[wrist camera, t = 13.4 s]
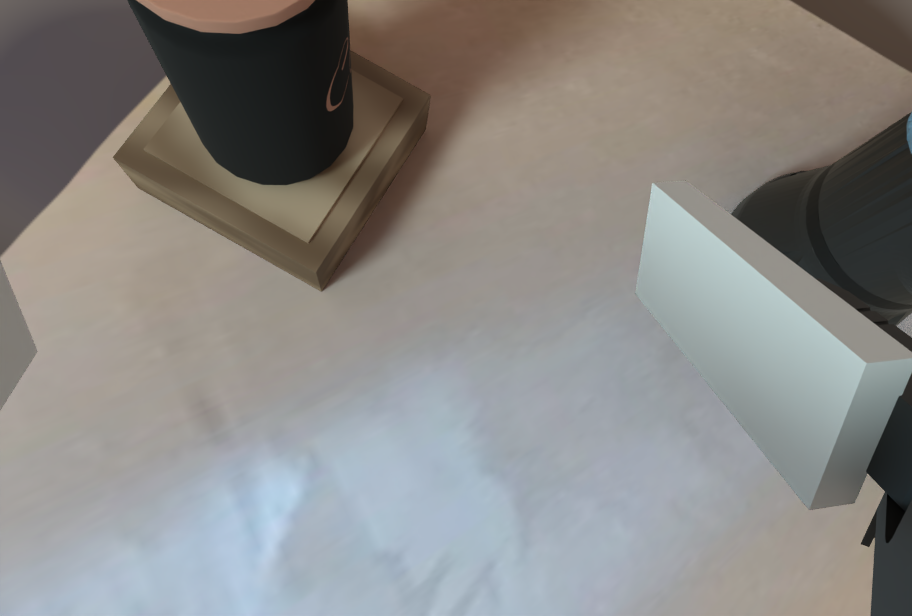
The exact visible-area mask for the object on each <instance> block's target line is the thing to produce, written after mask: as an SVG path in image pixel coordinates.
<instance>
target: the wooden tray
mask: <svg viewBox="0 0 912 616" xmlns="http://www.w3.org/2000/svg"><path fill="white" fill-rule="evenodd" d="M350 54H351V71H352V88H353V105H354V109H353V130H352V132H351V135H350V138H349V140H348V143H347V146H346V148H345V149H344V151H343V152H342V153H341V154H340V155H339V157H338V158H337V159H336V160H335V161H334V163H333V164H332V165H331V166H330V167H328V168H327V169H325V170H324V171H322V172H320V173H319V174H317V175H316V176H314V177H312V178H311V179H308V180H305V181H301V182H297V183H294V184H290V185H261V184H258V183H255V182H251V181H248V180H245V179H242V178H239V177H236V176H235V175H233V174H232V173H230V172H229V171H228V170H226V169H225V168H223V167H222V166H220V165H219V164H218V163H216V161H215V160H214V159H213V157H212V156H211V155H210V153H209V152H208V151H207V149H206V148H205V147H204V145H203V144H202V142H201V140H200V138H199V136H198V134H197V132H196V131H195V129H194V127H193V125H192V123H191V121H190V119H189V117H188V115H187V113H186V111H185V110H184V108H183V106H182V104H181V102H180V100H179V98H178V96H177V94H176V92H175V91H174V89H173V87H172V85H170V86H169V87H168V88H167V90H166V91H165V92H164V93H163V95H162V96H161V97H160V98H159V100H158V101H157V102H156V103H155V105H154V106H153V107H152V109H151V110H150V111H149V112H148V114H147V115H146V116H145V117H144V119H143V120H142V121H141V122H140V124H139V125H138V126H137V127H136V129H135V130H134V131H133V133H132V134H131V135H130V136H129V138H128V139H127V140H126V141H125V143H124V144H123V145H122V146H121V148H120V149H119V150H118V151H117V153H116V154H115V155H114V157H113V158H114V160H115V161H116V162H117V163H118V164H119V166H120V167H121V168H122V169H123V170H124V172H125V173H126V174H127V175H128V176H129V178H130V179H131V180H132V181H133V182H134V184H135V185H136V186H137V187H138V188H139V189H141V190H143V191H145V192H146V193H148V194H150V195H152V196H153V197H155V198H157V199H159V200H161V201H162V202H164V203H166V204H168V205H169V206H171V207H173V208H175V209H176V210H178V211H180V212H182V213H183V214H185V215H187V216H189V217H191V218H192V219H194V220H196V221H198V222H199V223H201V224H203V225H205V226H206V227H208V228H210V229H212V230H214V231H215V232H217V233H219V234H221V235H222V236H224V237H226V238H228V239H229V240H231V241H233V242H235V243H236V244H238V245H240V246H242V247H244V248H245V249H247V250H249V251H251V252H252V253H254V254H256V255H258V256H259V257H261V258H263V259H265V260H266V261H268V262H270V263H272V264H274V265H275V266H277V267H279V268H281V269H282V270H284V271H286V272H288V273H289V274H291V275H293V276H295V277H296V278H298V279H300V280H302V281H304V282H305V283H307V284H309V285H311V286H312V287H314V288H316V289H318V290H319V291H321V292H322V290H323V289H324V287H325V286H326V284H327V282H328V281H329V279H330V278H331V276H332V275H333V273H334V271H335V270H336V268H337V267H338V265H339V264H340V262H341V261H342V259H343V257H344V256H345V254H346V253H347V251H348V250H349V248H350V246H351V245H352V243H353V242H354V240H355V239H356V237H357V236H358V234H359V232H360V231H361V229H362V228H363V226H364V225H365V223H366V221H367V220H368V218H369V217H370V215H371V214H372V212H373V211H374V209H375V207H376V206H377V204H378V203H379V201H380V200H381V198H382V196H383V195H384V193H385V192H386V190H387V189H388V187H389V186H390V184H391V182H392V181H393V179H394V178H395V176H396V175H397V173H398V171H399V170H400V168H401V167H402V165H403V164H404V162H405V161H406V159H407V157H408V156H409V154H410V153H411V151H412V150H413V148H414V146H415V145H416V143H417V142H418V140H419V139H420V137H421V136H422V134H423V132H424V131H425V129H426V124H427V117H428V110H429V104H430V97H431V95H429V94H428V93H426V92H424V91H422V90H420V89H419V88H417V87H415V86H413V85H411V84H410V83H408V82H406V81H404V80H402V79H401V78H399V77H397V76H395V75H394V74H392V73H390V72H388V71H386V70H385V69H383V68H381V67H379V66H377V65H376V64H374V63H372V62H370V61H369V60H367V59H365V58H363V57H361V56H360V55H358V54H356V53H354V52H352V51H351V50H350Z"/></svg>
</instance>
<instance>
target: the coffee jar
mask: <svg viewBox="0 0 912 616" xmlns="http://www.w3.org/2000/svg"><path fill="white" fill-rule="evenodd" d="M128 2H129V5H130V7H131V9H132V10H133V12H134V14H135V16H136V18H137V20H138V22H139V24H140V26H141V28H142V29H143V31H144V33H145V35H146V37H147V39H148V41H149V43H150V45H151V47H152V49H153V50H154V52H155V54H156V56H157V58H158V60H159V62H160V64H161V66H162V68H163V69H164V71H165V73H166V75H167V77H168V79H169V81H170V83H171V85H172V87H173V89H174V91H175V92H176V94H177V96H178V98H179V100H180V102H181V104H182V106H183V108H184V110H185V111H186V113H187V115H188V117H189V119H190V121H191V123H192V125H193V127H194V129H195V131H196V132H197V134H198V136H199V138H200V140H201V142H202V144H203V145H204V147H205V148H206V149H207V151H208V152H209V153H210V155H211V156H212V157H213V159H214V160H215V161H216V163H218V164H219V165H220V166H222V167H223V168H225V169H226V170H228V171H229V172H230V173H232V174H233V175H235V176H236V177H239V178H242V179H245V180H248V181H251V182H255V183H258V184H261V185H290V184H294V183H297V182H301V181H305V180H308V179H311V178H312V177H314V176H316V175H317V174H319V173H320V172H322V171H324V170H325V169H327V168H328V167H330V166H331V165H332V164H333V163H334V161H335V160H336V159H337V158H338V157H339V155H340V154H341V153H342V152H343V151H344V149H345V148H346V146H347V143H348V140H349V138H350V135H351V132H352V130H353V109H354V105H353V88H352V71H351V54H350V37H349V20H348V2H347V0H128Z"/></svg>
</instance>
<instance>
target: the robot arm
mask: <svg viewBox="0 0 912 616" xmlns="http://www.w3.org/2000/svg"><path fill="white" fill-rule="evenodd" d="M635 294H636V295H637V297H638V298H639V299H640V300H641V302H642V303H643V304H644V305H645V307H646V308H647V309H648V310H649V312H650V313H651V314H652V315H653V317H654V318H655V319H656V320H657V322H658V323H659V324H660V325H661V326H662V328H663V329H664V330H665V331H666V333H667V334H668V335H669V336H670V338H671V339H672V340H673V341H674V343H675V344H676V345H677V346H678V348H679V349H680V350H681V351H682V353H683V354H684V355H685V356H686V358H687V359H688V360H689V361H690V363H691V364H692V365H693V366H694V368H695V369H696V370H697V371H698V373H699V374H700V375H701V376H702V377H703V379H704V380H705V381H706V382H707V384H708V385H709V386H710V387H711V389H712V390H713V391H714V392H715V394H716V395H717V396H718V397H719V399H720V400H721V401H722V402H723V404H724V405H725V406H726V407H727V409H728V410H729V411H730V412H731V414H732V415H733V416H734V417H735V419H736V420H737V421H738V422H739V424H740V425H741V426H742V427H743V428H744V430H745V431H746V432H747V433H748V435H749V436H750V437H751V438H752V440H753V441H754V442H755V443H756V445H757V446H758V447H759V448H760V450H761V451H762V452H763V453H764V455H765V456H766V457H767V458H768V460H769V461H770V462H771V463H772V465H773V466H774V467H775V468H776V470H777V471H778V472H779V473H780V475H781V476H782V477H783V478H784V480H785V481H786V482H787V483H788V484H789V486H790V487H791V488H792V489H793V491H794V492H795V493H796V494H797V496H798V497H799V498H800V499H801V501H802V502H803V503H804V504H805V506H806V507H807V508H808V509H809V510H813V509H819V508H826V507H832V506H839V505H845V504H852V503H855V500H856V498H857V496H858V494H859V491H860V489H861V487H862V485H863V482H864V480H865V478H866V475H867V473H868V474H869V475H870V476H871V477H872V478H873V479H874V480H875V481H876V482H877V483H878V485H879V486H880V487H881V488H882V489H883V490H884V491H885V493H884V495H883V497H882V499H881V502H880V504H879V506H878V508H877V510H876V512H875V514H874V517H873V519H872V521H871V523H870V525H869V527H868V529H867V531H866V534H865V536H864V538H863V540H862V542H861V544H862V545H865V546H868V547H869V546H870V544H871V542H872V540H873V538H875V551H874V568H873V584H872V601H871V616H912V338H911V337H910V336H909V335H907V334H906V333H904V332H903V331H902V330H900V329H899V328H898V327H896V326H897V325H898V324H899V323H900V322H901V321H903V320H904V319H905V318H906V317H907V316H908V315H910V314H911V313H912V112H911V113H909V114H908V115H906V116H905V117H903V118H902V119H900V120H899V121H897V122H896V123H894V124H893V125H891V126H890V127H888V128H887V129H885V130H884V131H882V132H881V133H879V134H877V135H876V136H874V137H873V138H871V139H870V140H868V141H867V142H865V143H864V144H862V145H861V146H859V147H858V148H856V149H855V150H853V151H852V152H850V153H849V154H847V155H846V156H844V157H843V158H841V159H840V160H838V161H837V162H835V163H834V164H832V165H830V166H826V167H822V168H818V169H814V170H810V171H801V172H796V173H790V174H786V175H783V176H780V177H778V178H775V179H773V180H771V181H769V182H767V183H766V184H764V185H762V186H761V187H760V188H758V189H757V190H756V191H754V192H753V193H751V194H750V195H749V196H748V197H746V198H745V199H744V200H743V201H742V202H741V203H740V204H739V205H738V206H737V207H736V209H735V210H734V211H733V213H732V214H730V213H728V212H727V211H726V210H724V209H723V208H722V207H720V206H719V205H718V204H716V203H715V202H714V201H712V200H711V199H710V198H709V197H707V196H706V195H705V194H703V193H702V192H701V191H699V190H698V189H697V188H695V187H694V186H693V185H691V184H690V183H689V182H688V181H686V180H684V181H670V182H656V183H652V190H651V196H650V202H649V209H648V215H647V221H646V228H645V234H644V241H643V247H642V253H641V260H640V266H639V272H638V279H637V285H636V292H635ZM36 353H37V349H36V346H35V344H34V341H33V339H32V336H31V334H30V331H29V329H28V327H27V324H26V322H25V319H24V317H23V314H22V312H21V309H20V307H19V305H18V302H17V300H16V297H15V295H14V292H13V290H12V288H11V285H10V283H9V280H8V278H7V275H6V273H5V270H4V268H3V266H2V263H1V261H0V410H1V409H2V407H3V405H4V404H5V402H6V401H7V399H8V398H9V396H10V394H11V393H12V391H13V390H14V388H15V386H16V385H17V383H18V382H19V380H20V378H21V377H22V375H23V374H24V372H25V371H26V369H27V367H28V366H29V364H30V363H31V361H32V359H33V358H34V356H35V355H36Z"/></svg>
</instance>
